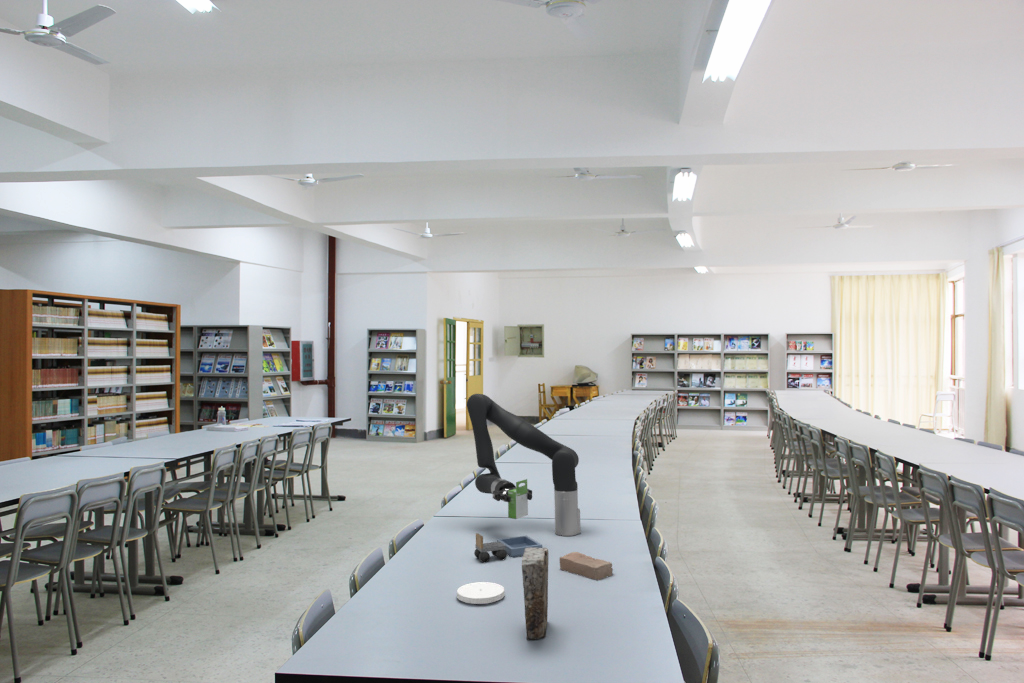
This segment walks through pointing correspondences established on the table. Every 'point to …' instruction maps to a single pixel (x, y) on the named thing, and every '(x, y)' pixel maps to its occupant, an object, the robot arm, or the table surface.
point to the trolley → (489, 549)
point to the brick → (586, 565)
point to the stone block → (535, 591)
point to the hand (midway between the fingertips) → (520, 498)
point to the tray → (518, 545)
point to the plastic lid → (480, 592)
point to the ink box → (518, 501)
